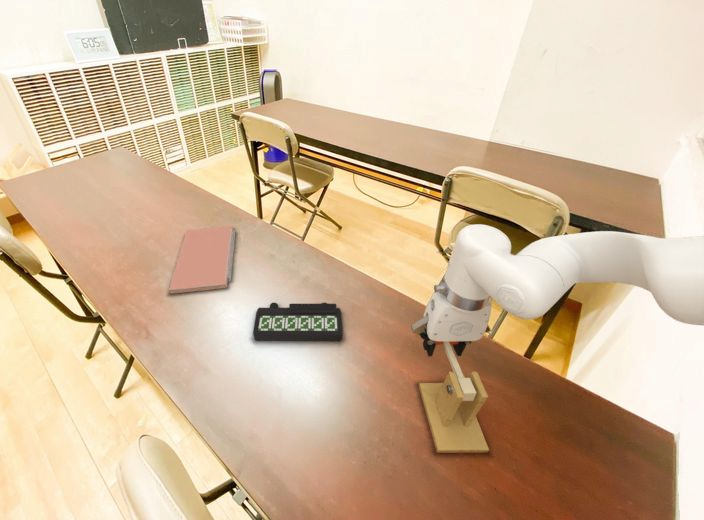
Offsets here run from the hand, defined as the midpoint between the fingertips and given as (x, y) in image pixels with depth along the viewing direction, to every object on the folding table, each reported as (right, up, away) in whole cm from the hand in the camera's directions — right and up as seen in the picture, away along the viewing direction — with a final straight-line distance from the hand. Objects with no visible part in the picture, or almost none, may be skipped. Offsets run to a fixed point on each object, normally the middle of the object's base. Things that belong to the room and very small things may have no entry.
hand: (442, 349), depth 66 cm
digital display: (-30, 0, +15) cm, 33 cm away
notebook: (-59, +14, +36) cm, 71 cm away
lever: (0, -2, -5) cm, 5 cm away
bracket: (0, -12, -3) cm, 12 cm away
